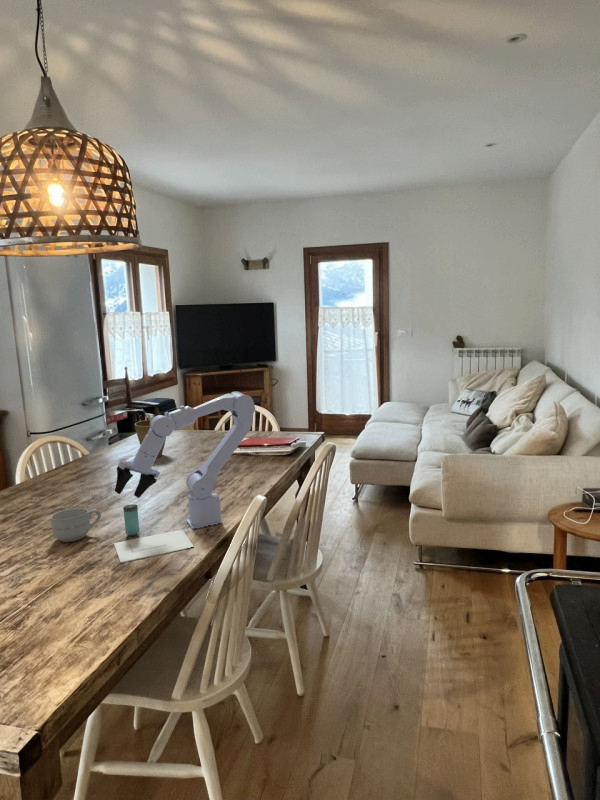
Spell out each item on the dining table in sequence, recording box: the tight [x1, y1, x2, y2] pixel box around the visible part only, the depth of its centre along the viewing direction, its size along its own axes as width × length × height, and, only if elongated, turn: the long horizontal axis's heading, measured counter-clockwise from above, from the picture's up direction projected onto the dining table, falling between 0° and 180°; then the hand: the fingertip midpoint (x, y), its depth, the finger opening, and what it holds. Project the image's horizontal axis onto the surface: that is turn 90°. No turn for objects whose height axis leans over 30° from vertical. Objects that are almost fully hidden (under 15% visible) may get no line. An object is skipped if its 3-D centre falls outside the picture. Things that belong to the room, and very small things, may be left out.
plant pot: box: [134, 419, 167, 458], centre depth 260 cm, size 15×15×16 cm
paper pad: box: [113, 529, 195, 564], centre depth 160 cm, size 20×14×1 cm
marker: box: [122, 504, 140, 538], centre depth 167 cm, size 4×4×9 cm
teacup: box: [49, 507, 102, 543], centre depth 168 cm, size 14×11×8 cm
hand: (127, 494), depth 166 cm, fingers open, 7 cm apart
